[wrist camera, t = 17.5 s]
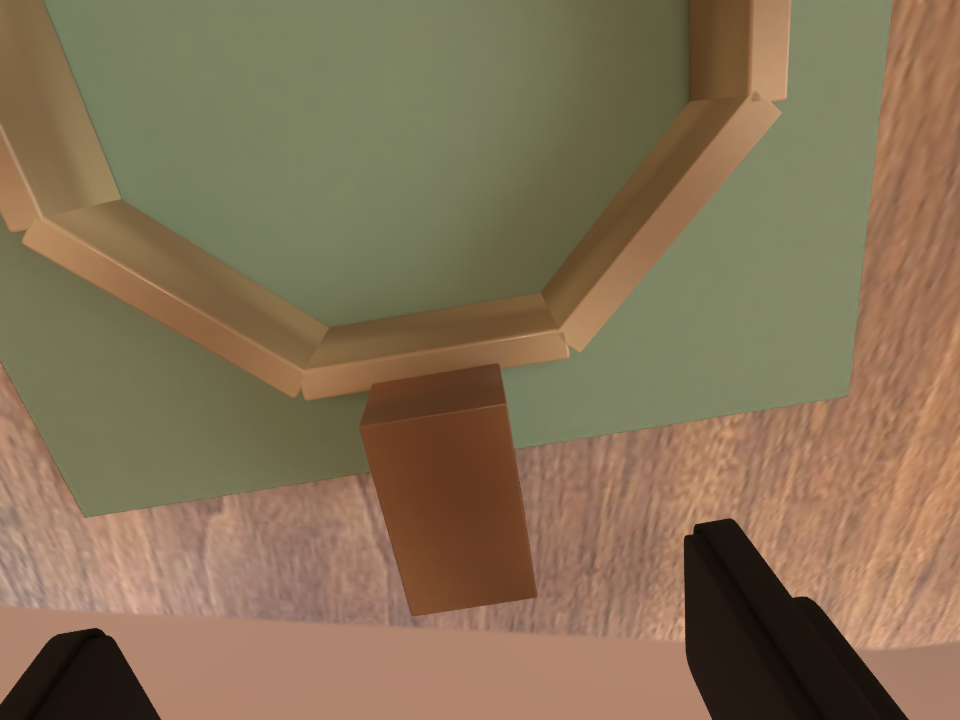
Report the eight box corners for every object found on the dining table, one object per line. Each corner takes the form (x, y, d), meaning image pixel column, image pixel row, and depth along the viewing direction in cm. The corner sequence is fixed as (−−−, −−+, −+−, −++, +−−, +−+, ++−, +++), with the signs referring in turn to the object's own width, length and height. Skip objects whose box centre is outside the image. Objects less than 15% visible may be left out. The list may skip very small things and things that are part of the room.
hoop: (224, 521, 18) (145, 658, 13) (-172, -426, 10) (-719, -905, 5) (718, 443, 18) (812, 556, 13) (728, -606, 9) (985, -1288, 5)
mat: (91, 510, 18) (84, 518, 18) (-569, -738, 9) (-613, -774, 8) (840, 391, 18) (849, 396, 17) (993, -1073, 8) (1019, -1130, 8)
